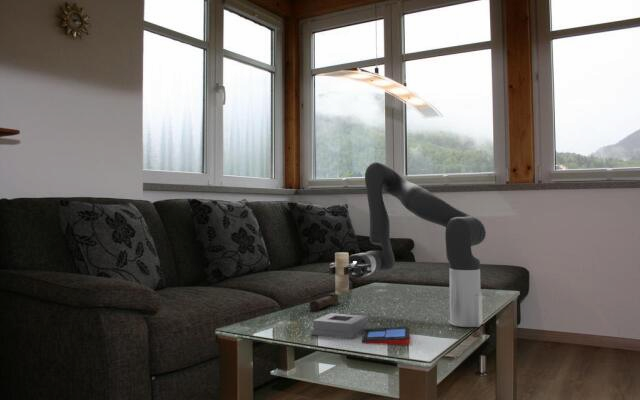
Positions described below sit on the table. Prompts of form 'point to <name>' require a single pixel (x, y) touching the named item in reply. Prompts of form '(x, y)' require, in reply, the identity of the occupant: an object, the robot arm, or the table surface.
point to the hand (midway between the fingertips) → (338, 270)
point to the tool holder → (340, 325)
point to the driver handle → (341, 274)
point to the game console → (387, 336)
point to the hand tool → (324, 302)
